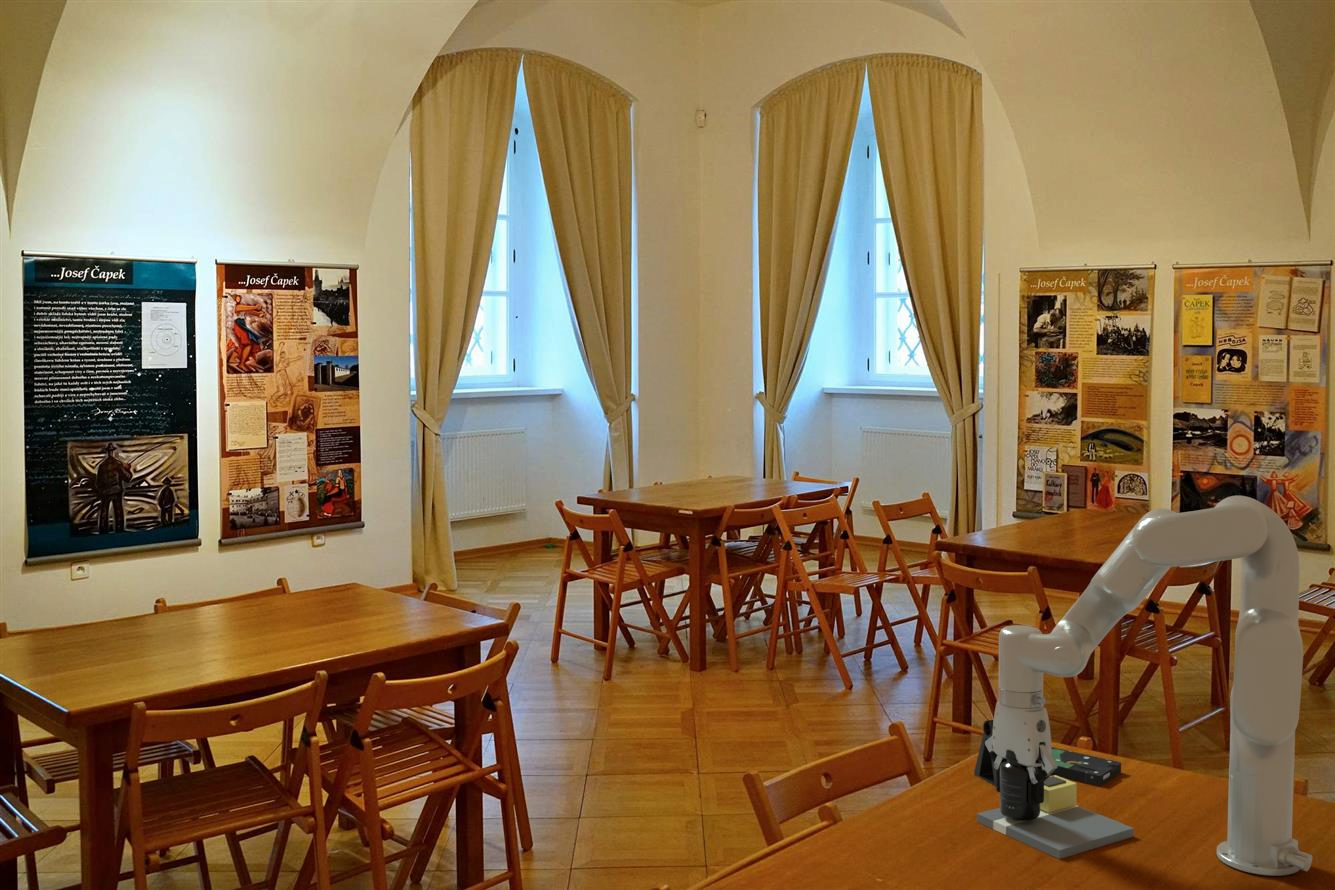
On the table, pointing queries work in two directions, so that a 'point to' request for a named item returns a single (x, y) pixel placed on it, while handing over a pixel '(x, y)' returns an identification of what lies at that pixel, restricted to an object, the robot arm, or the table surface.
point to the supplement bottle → (1016, 790)
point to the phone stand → (986, 757)
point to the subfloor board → (1060, 830)
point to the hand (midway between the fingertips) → (1019, 796)
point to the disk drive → (1084, 767)
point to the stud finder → (1058, 794)
